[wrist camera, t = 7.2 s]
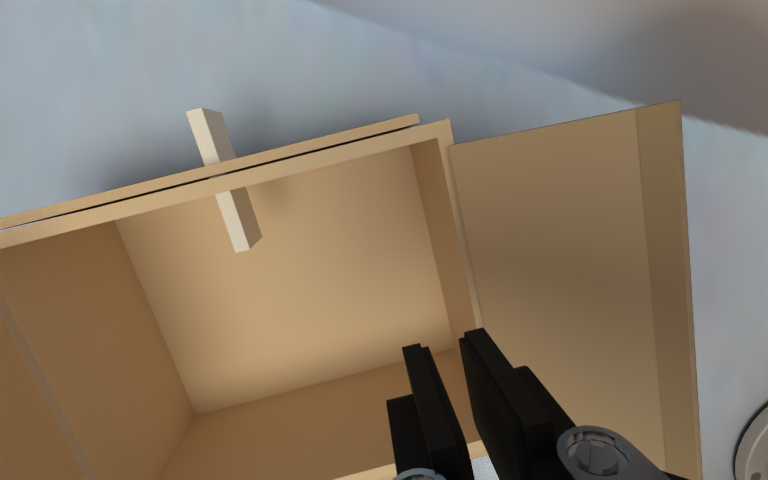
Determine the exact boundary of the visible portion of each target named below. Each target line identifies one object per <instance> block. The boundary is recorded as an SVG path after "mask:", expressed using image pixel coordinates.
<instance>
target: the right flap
mask: <svg viewBox="0 0 768 480" xmlns="http://www.w3.org/2000/svg"><path fill="white" fill-rule="evenodd" d="M680 104H681V103H680V99H678V100H673V101H668V102H663V103H658V104H653V105H648V106H643V107H638V108H633V109H628V110H623V111H618V112H613V113H608V114H603V115H598V116H593V117H588V118H583V119H578V120H573V121H568V122H564V123H559V124H554V125H549V126H544V127H539V128H534V129H529V130H524V131H519V132H514V133H509V134H504V135H499V136H494V137H489V138H484V139H479V140H474V141H469V142H464V143H459V144H455V145H452V146H449V151H450V156H451V161H452V166H453V171H454V176H455V181H456V186H457V191H458V196H459V201H460V206H461V211H462V215H463V220H464V225H465V230H466V235H467V240H468V245H469V250H470V255H471V260H472V265H473V270H474V275H475V280H476V285H477V290H478V295H479V300H480V305H481V310H482V315H483V320H484V325H485V330H486V332H487V333H488V334H489V336H490V337H491V338H492V340H493V341H494V342H495V344H496V345H497V346H498V348H499V349H500V350H501V352H502V353H503V354H504V356H505V357H506V358H507V360H508V361H509V362H510V364H511V365H512V366H513V368H516V367H520V366H524V365H525V366H528V367H529V368H530V369H531V371H532V372H533V373H534V374H535V375H536V377H537V378H538V379H539V380H540V382H541V383H542V384H543V385H544V387H545V388H546V389H547V390H548V391H549V393H550V394H551V395H552V396H553V398H554V399H555V400H556V401H557V403H558V404H559V405H560V406H561V407H562V409H563V410H564V411H565V412H566V414H567V415H568V416H569V417H570V418H571V420H572V421H573V422H574V423H575V425H576V426H582V425H589V426H599V427H603V428H607V429H609V430H612V431H614V432H616V433H618V434H620V435H621V436H623V437H624V438H625V439H627V440H628V441H629V442H630V443H632V444H633V445H634V446H635V447H636V448H637V449H638V450H639V451H640V452H641V453H642V454H644V455H645V456H646V457H647V458H648V459H649V460H650V461H651V462H652V463H653V464H654V465H656V466H657V467H658V468H659V469H660V470H661V471H665V472H668V473H671V474H674V475H677V476H680V477H683V478H686V479H690V480H703V473H702V456H701V440H700V423H699V406H698V389H697V372H696V355H695V339H694V322H693V305H692V288H691V271H690V255H689V238H688V221H687V204H686V187H685V170H684V154H683V137H682V120H681V105H680Z"/></svg>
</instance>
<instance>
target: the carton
mask: <svg viewBox="0 0 768 480" xmlns="http://www.w3.org/2000/svg"><path fill="white" fill-rule="evenodd" d="M186 114H187V117H188V119H189V122H190V125H191V128H192V131H193V134H194V137H195V139H196V142H197V145H198V148H199V151H200V154H201V156H202V159H203V162H204V165H205V166H204V167H200V168H196V169H193V170H189V171H185V172H181V173H177V174H173V175H169V176H165V177H161V178H157V179H153V180H149V181H145V182H141V183H137V184H133V185H129V186H125V187H121V188H118V189H114V190H110V191H106V192H102V193H98V194H94V195H90V196H86V197H82V198H78V199H74V200H70V201H66V202H62V203H58V204H54V205H50V206H47V207H43V208H39V209H35V210H31V211H27V212H23V213H19V214H15V215H11V216H7V217H3V218H0V230H1V229H6V228H10V227H14V226H19V225H23V224H27V223H32V222H36V221H41V220H45V219H49V218H54V217H58V216H62V215H66V216H62V217H58V218H54V219H50V220H46V221H42V222H38V223H34V224H31V225H27V226H23V227H19V228H15V229H11V230H7V231H3V232H0V314H1V316H2V318H3V320H4V322H5V324H6V325H7V327H8V329H9V331H10V333H11V335H12V337H13V339H14V341H15V343H16V345H17V346H18V348H19V350H20V352H21V354H22V356H23V358H24V360H25V362H26V364H27V366H28V367H29V369H30V371H31V373H32V375H33V377H34V379H35V381H36V383H37V385H38V387H39V388H40V390H41V392H42V394H43V396H44V398H45V400H46V402H47V404H48V406H49V408H50V409H51V411H52V413H53V415H54V417H55V419H56V421H57V423H58V425H59V427H60V428H61V430H62V432H63V434H64V436H65V438H66V440H67V442H68V444H69V446H70V448H71V449H72V451H73V453H74V455H75V457H76V459H77V461H78V463H79V465H80V467H81V469H82V470H83V472H84V474H85V476H86V478H87V480H392V479H393V478H394V477H396V476H397V472H396V465H395V459H394V452H393V445H392V439H391V432H390V425H389V418H388V412H387V405H386V400H389V399H393V398H397V397H401V396H405V395H409V394H412V390H411V386H410V381H409V377H408V373H407V369H406V364H405V360H404V356H403V351H402V347H405V346H409V345H413V344H417V343H420V345H421V347H426V346H428V347H429V349H430V351H431V354H432V356H433V359H434V361H435V364H436V366H437V369H438V371H439V374H440V376H441V379H442V381H443V384H444V386H445V389H446V391H447V394H448V396H449V399H450V401H451V404H452V406H453V409H454V411H455V414H456V416H457V419H458V421H459V424H460V426H461V429H462V431H463V434H464V437H465V440H466V443H467V447H468V451H469V455H470V459H474V458H478V457H482V456H485V455H488V453H487V451H486V449H485V446H484V444H483V442H482V440H481V438H480V435H479V433H478V431H477V429H476V426H475V423H474V419H473V415H472V409H471V404H470V399H469V394H468V389H467V383H466V378H465V373H464V368H463V362H462V357H461V352H460V347H459V340H458V339H459V338H463V337H464V332H466V331H470V330H474V329H478V328H482V327H483V328H484V329H485V325H484V320H483V315H482V310H481V305H480V300H479V295H478V290H477V285H476V280H475V275H474V270H473V265H472V260H471V255H470V250H469V245H468V240H467V235H466V230H465V225H464V220H463V215H462V211H461V206H460V201H459V196H458V191H457V186H456V181H455V176H454V171H453V166H452V161H451V156H450V151H449V146H452V145H454V140H453V135H452V130H451V125H450V119H449V118H448V119H444V120H440V121H436V122H432V123H428V124H424V125H420V126H416V127H412V128H408V127H411V126H413V125H416V124H419V123H420V120H419V115H418V112H417V113H413V114H410V115H406V116H402V117H398V118H394V119H390V120H386V121H382V122H378V123H374V124H370V125H366V126H362V127H358V128H354V129H350V130H346V131H342V132H338V133H335V134H331V135H327V136H323V137H319V138H315V139H311V140H307V141H303V142H299V143H295V144H291V145H287V146H283V147H279V148H275V149H271V150H267V151H264V152H260V153H256V154H252V155H248V156H244V157H240V158H236V155H235V152H234V149H233V146H232V143H231V140H230V137H229V134H228V131H227V128H226V125H225V122H224V119H223V116H222V113H220V112H216V111H212V110H208V109H205V108H198V109H194V110H190V111H186ZM406 128H408V129H406ZM403 129H405V130H403ZM93 208H94V209H93ZM89 209H90V210H89ZM84 210H86V211H84ZM80 211H82V212H80ZM75 212H78V213H75ZM71 213H74V214H71ZM67 214H70V215H67Z"/></svg>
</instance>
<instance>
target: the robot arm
mask: <svg viewBox="0 0 768 480" xmlns="http://www.w3.org/2000/svg"><path fill="white" fill-rule="evenodd" d="M458 340H459V347H460V352H461V357H462V362H463V368H464V373H465V378H466V383H467V389H468V394H469V399H470V404H471V409H472V415H473V419H474V423H475V426H476V429H477V431H478V433H479V435H480V438H481V440H482V442H483V444H484V446H485V449H486V451H487V453H488V455H489V457H490V460H491V462H492V464H493V466H494V468H495V471H496V473H497V475H498V477H499V480H690V479H686V478H683V477H680V476H677V475H674V474H671V473H668V472H665V471H661V470H660V469H659V468H658V467H657V466H656V465H654V464H653V463H652V462H651V461H650V460H649V459H648V458H647V457H646V456H645V455H644V454H642V453H641V452H640V451H639V450H638V449H637V448H636V447H635V446H634V445H633V444H632V443H630V442H629V441H628V440H627V439H625V438H624V437H623V436H621V435H620V434H618V433H616V432H614V431H612V430H609V429H607V428H603V427H599V426H589V425H582V426H576V425H575V423H574V422H573V421H572V420H571V418H570V417H569V416H568V415H567V414H566V412H565V411H564V410H563V409H562V407H561V406H560V405H559V404H558V403H557V401H556V400H555V399H554V398H553V396H552V395H551V394H550V393H549V391H548V390H547V389H546V388H545V387H544V385H543V384H542V383H541V382H540V380H539V379H538V378H537V377H536V375H535V374H534V373H533V372H532V371H531V369H530V368H529V367H528V366H525V365H524V366H520V367H516V368H513V366H512V365H511V364H510V362H509V361H508V360H507V358H506V357H505V356H504V354H503V353H502V352H501V350H500V349H499V348H498V346H497V345H496V344H495V342H494V341H493V340H492V338H491V337H490V336H489V334H488V333H487V332H486V330H485V329H484V328H483V327H482V328H478V329H474V330H470V331H466V332H464V337H463V338H459V339H458ZM402 351H403V356H404V360H405V364H406V369H407V373H408V377H409V381H410V386H411V390H412V394H409V395H405V396H401V397H397V398H393V399H389V400H386V405H387V412H388V418H389V425H390V432H391V439H392V445H393V452H394V459H395V465H396V472H397V476H396V477H394V478H393V479H392V480H474V475H473V470H472V465H471V460H470V455H469V451H468V447H467V443H466V440H465V437H464V434H463V431H462V429H461V426H460V424H459V421H458V419H457V416H456V414H455V411H454V409H453V406H452V404H451V401H450V399H449V396H448V394H447V391H446V389H445V386H444V384H443V381H442V379H441V376H440V374H439V371H438V369H437V366H436V364H435V361H434V359H433V356H432V354H431V351H430V349H429V347H428V346H426V347H421V345H420V343H417V344H413V345H409V346H405V347H402ZM735 475H736V480H768V406H767V407H766V408H765V409H764V410H762V412H761V413H760V414H759V415H758V416H757V417H756V418H755V419H754V421H753V422H752V423H751V425H750V426H749V428H748V429H747V431H746V432H745V434H744V436H743V438H742V440H741V443H740V445H739V447H738V451H737V455H736V460H735Z"/></svg>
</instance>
